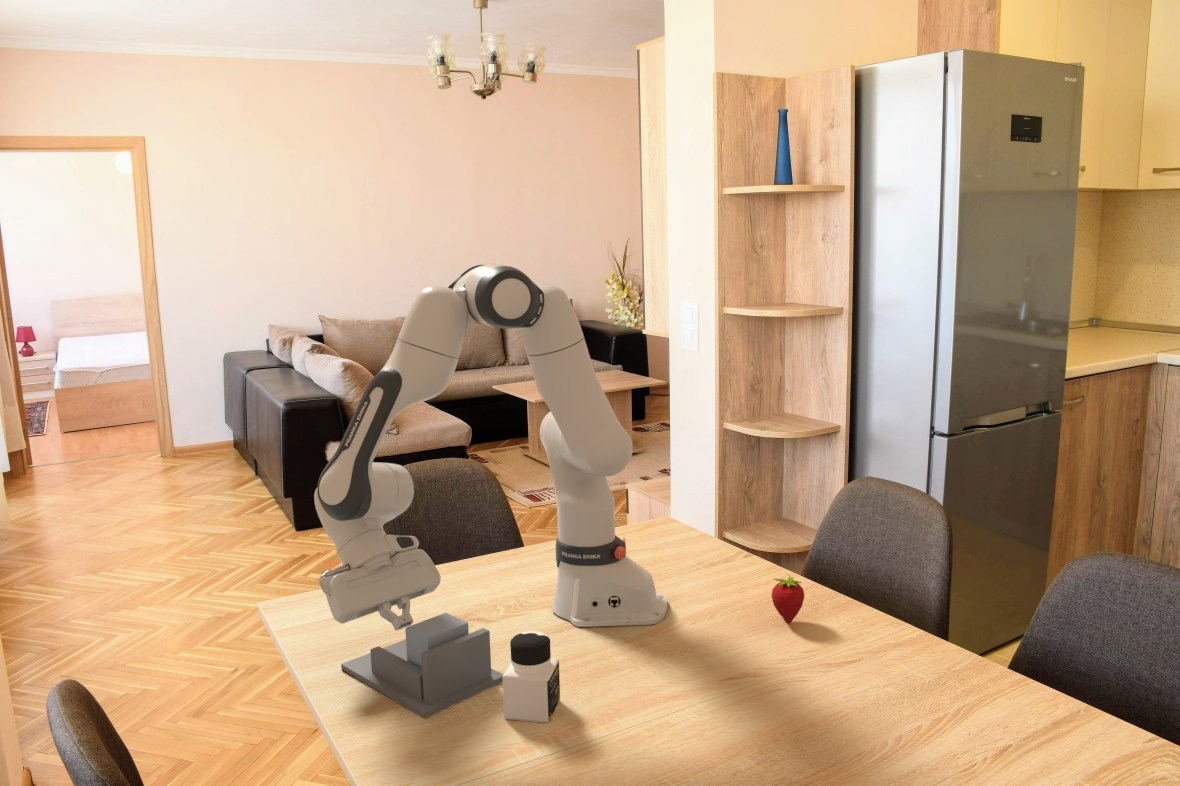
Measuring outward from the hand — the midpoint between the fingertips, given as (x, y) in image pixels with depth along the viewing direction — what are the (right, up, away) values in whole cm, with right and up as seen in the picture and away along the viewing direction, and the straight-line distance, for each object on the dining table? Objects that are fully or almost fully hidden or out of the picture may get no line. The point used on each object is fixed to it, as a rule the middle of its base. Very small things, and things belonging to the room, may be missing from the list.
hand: (405, 626), depth 155 cm
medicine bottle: (+22, -10, -14) cm, 28 cm away
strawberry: (+68, -4, +16) cm, 70 cm away
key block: (+7, -7, -5) cm, 11 cm away
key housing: (+3, -8, -1) cm, 8 cm away
